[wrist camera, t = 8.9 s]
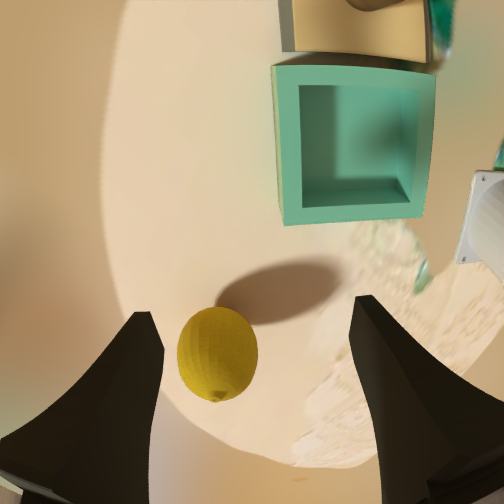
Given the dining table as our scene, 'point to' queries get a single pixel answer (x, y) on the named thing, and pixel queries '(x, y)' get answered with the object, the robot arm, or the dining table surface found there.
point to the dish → (351, 142)
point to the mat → (288, 27)
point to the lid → (361, 27)
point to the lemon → (217, 354)
